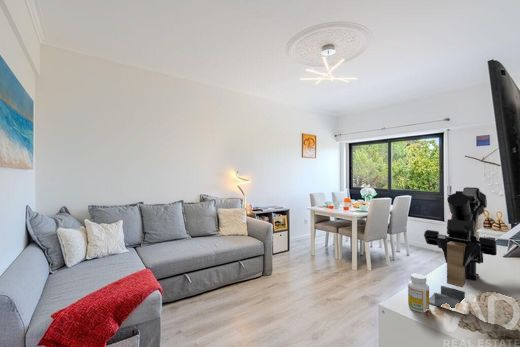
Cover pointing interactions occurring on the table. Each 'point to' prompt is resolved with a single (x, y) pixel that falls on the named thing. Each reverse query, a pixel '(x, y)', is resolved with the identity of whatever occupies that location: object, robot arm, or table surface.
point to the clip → (447, 297)
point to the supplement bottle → (418, 293)
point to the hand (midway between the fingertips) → (455, 264)
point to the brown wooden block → (455, 263)
